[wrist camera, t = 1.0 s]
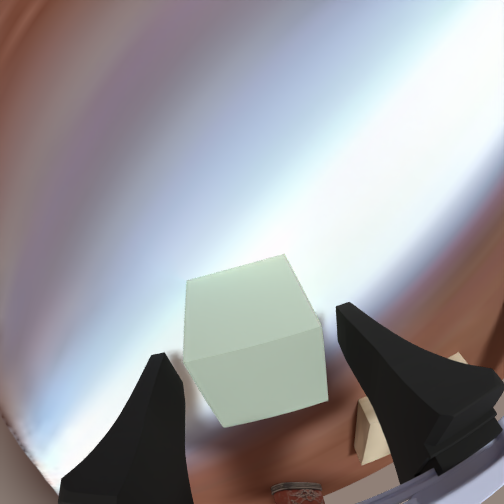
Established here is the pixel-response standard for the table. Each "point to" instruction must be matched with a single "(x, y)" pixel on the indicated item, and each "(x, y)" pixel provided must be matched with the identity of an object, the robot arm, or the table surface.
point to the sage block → (253, 342)
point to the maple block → (374, 429)
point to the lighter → (297, 493)
